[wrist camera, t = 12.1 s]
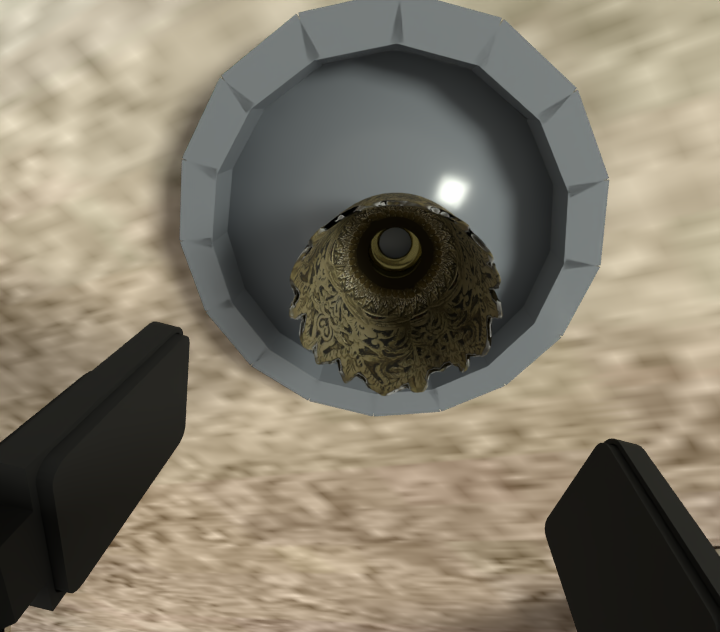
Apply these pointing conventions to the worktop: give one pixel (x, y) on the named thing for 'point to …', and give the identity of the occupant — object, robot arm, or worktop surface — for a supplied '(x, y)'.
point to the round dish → (392, 180)
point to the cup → (395, 294)
